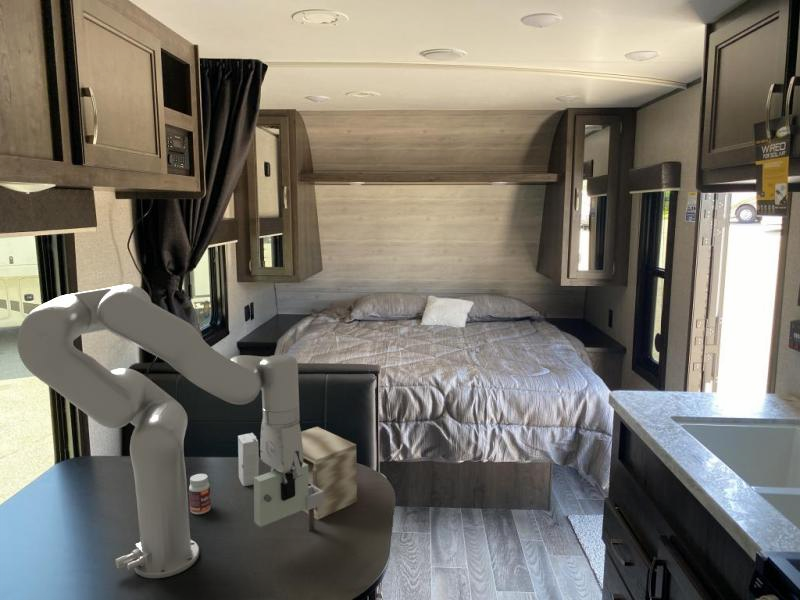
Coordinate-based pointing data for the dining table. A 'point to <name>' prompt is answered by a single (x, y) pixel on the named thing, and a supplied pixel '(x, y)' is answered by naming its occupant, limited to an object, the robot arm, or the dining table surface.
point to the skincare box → (248, 458)
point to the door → (269, 497)
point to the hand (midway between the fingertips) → (284, 494)
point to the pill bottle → (199, 494)
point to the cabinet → (330, 470)
